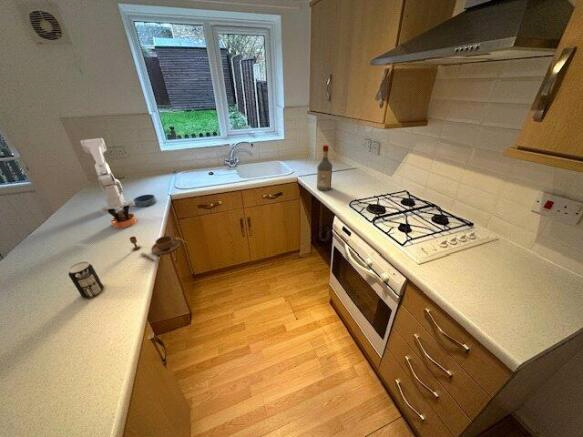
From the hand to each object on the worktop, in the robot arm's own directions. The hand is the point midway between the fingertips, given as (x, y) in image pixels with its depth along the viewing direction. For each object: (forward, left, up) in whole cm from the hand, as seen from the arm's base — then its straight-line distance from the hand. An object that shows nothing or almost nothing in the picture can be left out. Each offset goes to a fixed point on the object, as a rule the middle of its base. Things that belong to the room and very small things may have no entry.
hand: (123, 219), depth 131 cm
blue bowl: (-8, +26, -3) cm, 27 cm away
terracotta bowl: (0, 0, -3) cm, 3 cm away
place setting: (+34, -16, -3) cm, 38 cm away
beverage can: (+28, -46, -3) cm, 54 cm away
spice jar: (0, 0, -2) cm, 2 cm away
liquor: (+105, +66, -3) cm, 124 cm away
